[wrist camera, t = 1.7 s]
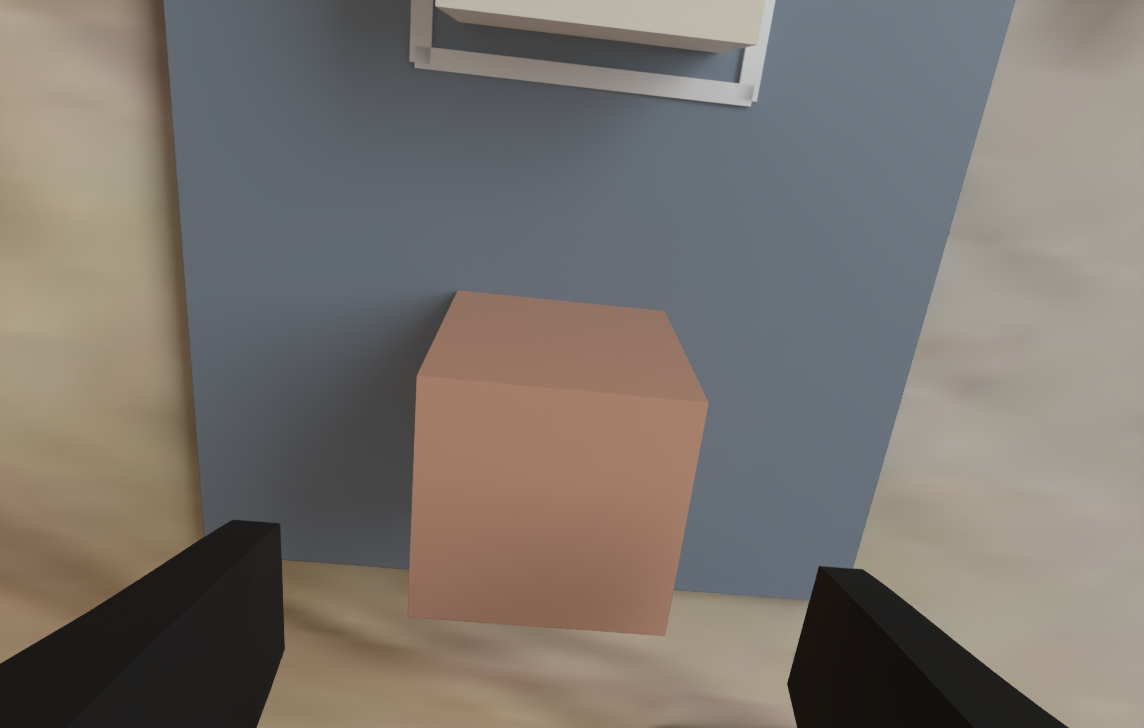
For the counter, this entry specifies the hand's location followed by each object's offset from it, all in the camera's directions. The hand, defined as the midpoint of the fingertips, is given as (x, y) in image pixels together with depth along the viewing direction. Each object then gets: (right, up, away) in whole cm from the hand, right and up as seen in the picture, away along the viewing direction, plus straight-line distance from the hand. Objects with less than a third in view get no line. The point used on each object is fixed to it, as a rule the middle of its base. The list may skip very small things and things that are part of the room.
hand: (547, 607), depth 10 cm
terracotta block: (0, +3, +7) cm, 7 cm away
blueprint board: (0, +7, +6) cm, 9 cm away
